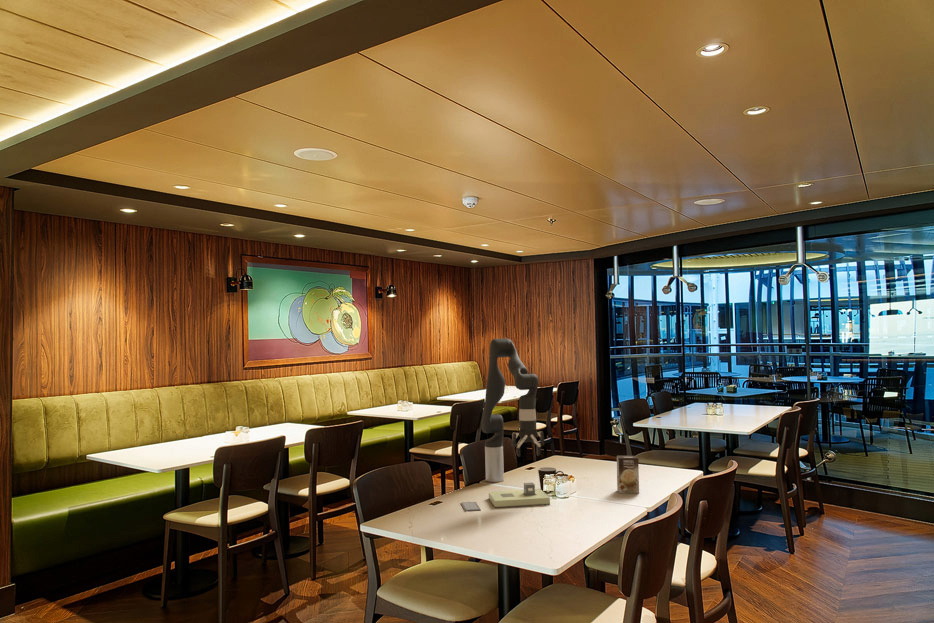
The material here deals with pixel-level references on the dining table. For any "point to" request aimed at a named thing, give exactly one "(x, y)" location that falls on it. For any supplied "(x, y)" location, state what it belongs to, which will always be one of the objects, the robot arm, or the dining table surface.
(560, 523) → the dining table surface
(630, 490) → the coffee box
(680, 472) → the dining table surface
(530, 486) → the block
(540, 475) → the coffee mug
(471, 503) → the phone
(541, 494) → the outlet plate
